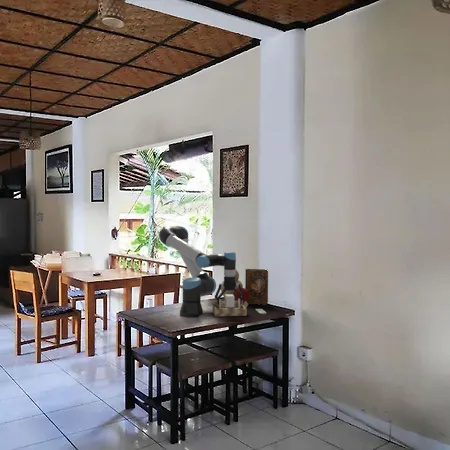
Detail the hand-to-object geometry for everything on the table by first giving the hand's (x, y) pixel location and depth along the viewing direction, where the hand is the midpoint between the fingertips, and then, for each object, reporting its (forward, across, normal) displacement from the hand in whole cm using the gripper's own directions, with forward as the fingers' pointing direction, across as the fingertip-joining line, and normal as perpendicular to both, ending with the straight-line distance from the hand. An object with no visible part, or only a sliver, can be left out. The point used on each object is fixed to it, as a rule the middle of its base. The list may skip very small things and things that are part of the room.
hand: (229, 309), depth 314 cm
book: (+4, +26, +35) cm, 44 cm away
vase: (+4, +10, +48) cm, 49 cm away
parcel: (+3, 0, 0) cm, 3 cm away
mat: (+4, +19, +8) cm, 21 cm away
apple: (+4, +14, +31) cm, 34 cm away
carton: (+4, 0, 0) cm, 4 cm away
